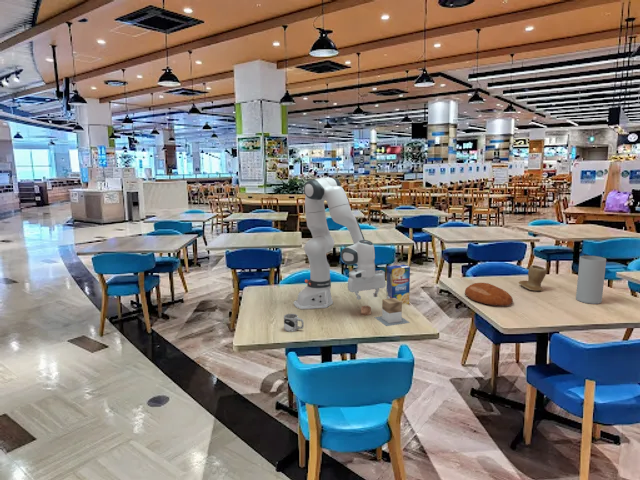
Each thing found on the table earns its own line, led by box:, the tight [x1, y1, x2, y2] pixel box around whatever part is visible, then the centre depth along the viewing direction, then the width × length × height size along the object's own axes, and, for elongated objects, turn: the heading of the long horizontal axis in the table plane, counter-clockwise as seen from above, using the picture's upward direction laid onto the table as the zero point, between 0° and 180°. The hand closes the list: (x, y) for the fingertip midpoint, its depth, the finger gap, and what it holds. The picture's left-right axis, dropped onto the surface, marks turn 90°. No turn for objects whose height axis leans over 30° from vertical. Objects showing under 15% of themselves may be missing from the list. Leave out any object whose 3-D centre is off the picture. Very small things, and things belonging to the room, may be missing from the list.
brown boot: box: [518, 264, 547, 292], centre depth 263 cm, size 15×12×15 cm
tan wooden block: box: [381, 298, 403, 313], centre depth 208 cm, size 7×7×5 cm
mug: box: [283, 313, 304, 333], centre depth 202 cm, size 10×7×7 cm
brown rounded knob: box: [360, 305, 372, 316], centre depth 219 cm, size 5×5×5 cm
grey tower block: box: [381, 308, 403, 323], centre depth 209 cm, size 7×7×5 cm
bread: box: [464, 282, 514, 307], centre depth 244 cm, size 23×32×9 cm
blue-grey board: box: [374, 315, 411, 327], centre depth 209 cm, size 13×13×2 cm
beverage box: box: [385, 264, 411, 305], centre depth 235 cm, size 7×11×22 cm, turn 108°
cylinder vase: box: [575, 255, 607, 305], centre depth 237 cm, size 12×12×25 cm
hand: (367, 297), depth 217 cm, fingers open, 8 cm apart
